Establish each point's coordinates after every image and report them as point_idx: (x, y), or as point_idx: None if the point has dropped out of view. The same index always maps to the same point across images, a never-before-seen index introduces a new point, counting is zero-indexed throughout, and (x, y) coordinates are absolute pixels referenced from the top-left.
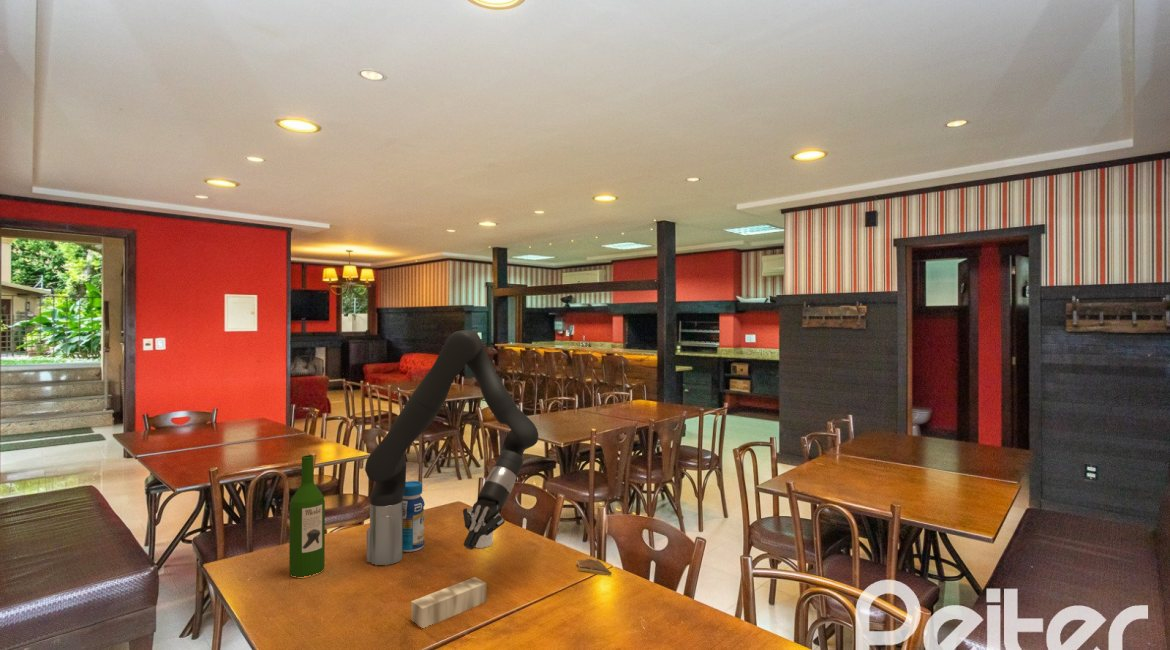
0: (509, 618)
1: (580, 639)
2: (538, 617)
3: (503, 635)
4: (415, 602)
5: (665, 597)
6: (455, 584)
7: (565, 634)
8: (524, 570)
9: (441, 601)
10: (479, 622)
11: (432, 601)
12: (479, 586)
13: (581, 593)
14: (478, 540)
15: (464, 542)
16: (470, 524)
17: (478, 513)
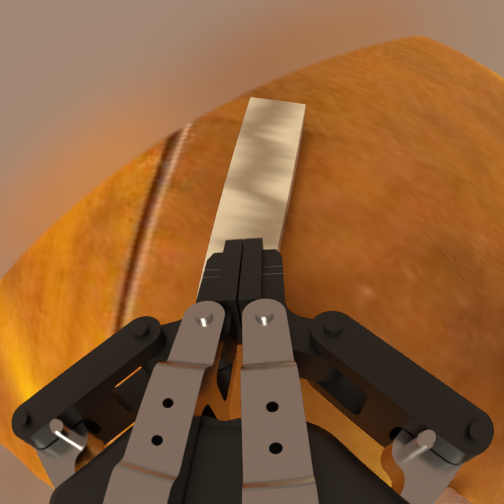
0: (117, 261)
1: (12, 268)
2: (75, 297)
3: (97, 202)
4: (291, 105)
5: (3, 433)
6: (279, 233)
7: (27, 269)
8: None
9: (237, 141)
10: (162, 209)
11: (257, 127)
12: (203, 269)
13: None
14: (437, 502)
15: (276, 253)
16: (353, 396)
17: (245, 458)
